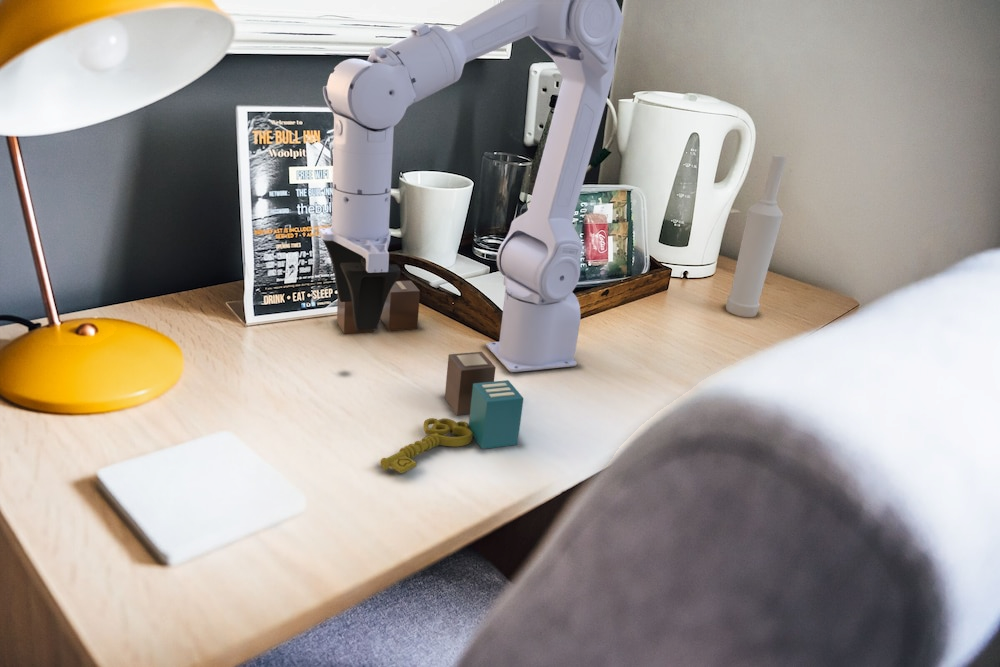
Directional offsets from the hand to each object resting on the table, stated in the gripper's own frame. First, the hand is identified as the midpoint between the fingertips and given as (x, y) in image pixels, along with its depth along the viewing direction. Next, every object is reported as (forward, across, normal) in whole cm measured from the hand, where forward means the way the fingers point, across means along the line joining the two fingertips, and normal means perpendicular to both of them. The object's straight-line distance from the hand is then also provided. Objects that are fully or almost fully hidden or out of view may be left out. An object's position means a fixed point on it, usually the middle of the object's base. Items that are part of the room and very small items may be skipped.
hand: (357, 314), depth 82 cm
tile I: (+10, -18, +10) cm, 23 cm away
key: (+10, +13, +4) cm, 16 cm away
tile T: (+10, -18, +4) cm, 21 cm away
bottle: (+10, -14, +66) cm, 69 cm away
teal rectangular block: (+10, +12, +12) cm, 19 cm away
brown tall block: (+10, +5, +12) cm, 16 cm away
